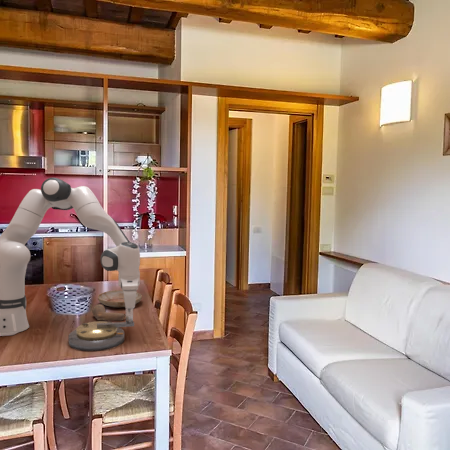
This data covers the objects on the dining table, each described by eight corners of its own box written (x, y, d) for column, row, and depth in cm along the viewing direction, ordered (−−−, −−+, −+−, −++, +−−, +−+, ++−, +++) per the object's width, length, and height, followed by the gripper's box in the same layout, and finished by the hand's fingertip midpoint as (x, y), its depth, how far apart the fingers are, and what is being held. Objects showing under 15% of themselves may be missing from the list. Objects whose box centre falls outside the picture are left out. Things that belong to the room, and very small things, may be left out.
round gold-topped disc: (75, 341, 169) (74, 316, 168) (77, 328, 185) (77, 305, 184) (135, 338, 175) (135, 314, 174) (133, 325, 191) (133, 303, 190)
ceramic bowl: (97, 312, 218) (97, 302, 218) (97, 299, 241) (97, 290, 240) (144, 309, 225) (144, 300, 224) (139, 297, 247) (139, 289, 247)
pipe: (124, 312, 203) (127, 303, 213) (88, 312, 202) (93, 302, 212) (124, 325, 205) (127, 315, 215) (88, 324, 204) (93, 314, 213)
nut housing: (71, 354, 165) (71, 346, 164) (66, 335, 185) (66, 328, 184) (129, 346, 174) (129, 338, 174) (118, 329, 194) (118, 322, 194)
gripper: (120, 275, 192) (120, 305, 194) (122, 287, 173) (121, 320, 174) (135, 275, 194) (135, 305, 196) (138, 286, 174) (137, 320, 176)
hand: (128, 312), depth 185 cm, fingers closed
